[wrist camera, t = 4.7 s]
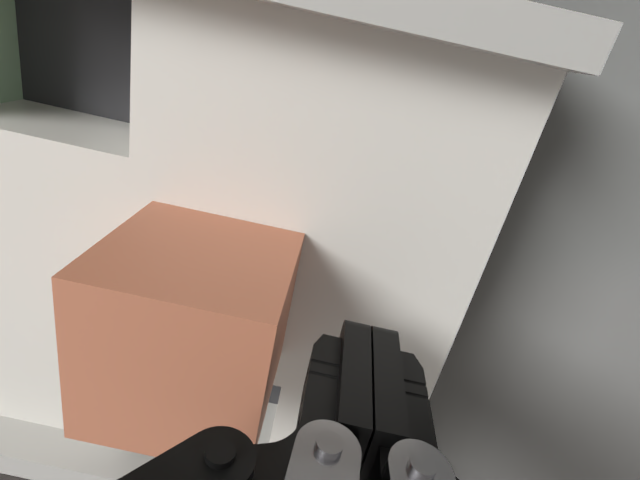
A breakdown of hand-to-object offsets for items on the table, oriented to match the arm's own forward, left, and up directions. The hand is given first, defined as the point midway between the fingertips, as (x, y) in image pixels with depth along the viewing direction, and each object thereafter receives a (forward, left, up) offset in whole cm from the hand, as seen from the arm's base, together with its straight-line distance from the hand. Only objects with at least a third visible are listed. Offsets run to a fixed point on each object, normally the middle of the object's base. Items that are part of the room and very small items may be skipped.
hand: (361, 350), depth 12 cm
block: (+4, 0, -2) cm, 5 cm away
